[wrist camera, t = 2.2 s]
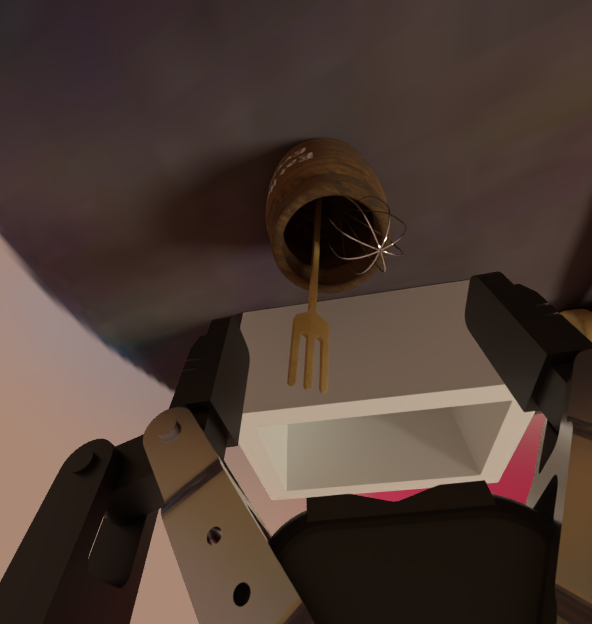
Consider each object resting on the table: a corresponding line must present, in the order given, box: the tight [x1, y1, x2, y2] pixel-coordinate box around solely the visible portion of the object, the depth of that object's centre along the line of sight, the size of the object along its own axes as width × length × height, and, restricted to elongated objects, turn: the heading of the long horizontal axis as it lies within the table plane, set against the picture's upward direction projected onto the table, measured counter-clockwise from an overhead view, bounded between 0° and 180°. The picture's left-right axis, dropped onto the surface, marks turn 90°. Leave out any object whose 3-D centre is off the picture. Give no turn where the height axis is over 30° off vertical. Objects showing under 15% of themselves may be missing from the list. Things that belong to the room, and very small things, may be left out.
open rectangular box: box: [238, 280, 535, 500], centre depth 24 cm, size 12×17×9 cm
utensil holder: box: [266, 138, 407, 394], centre depth 14 cm, size 6×6×12 cm
